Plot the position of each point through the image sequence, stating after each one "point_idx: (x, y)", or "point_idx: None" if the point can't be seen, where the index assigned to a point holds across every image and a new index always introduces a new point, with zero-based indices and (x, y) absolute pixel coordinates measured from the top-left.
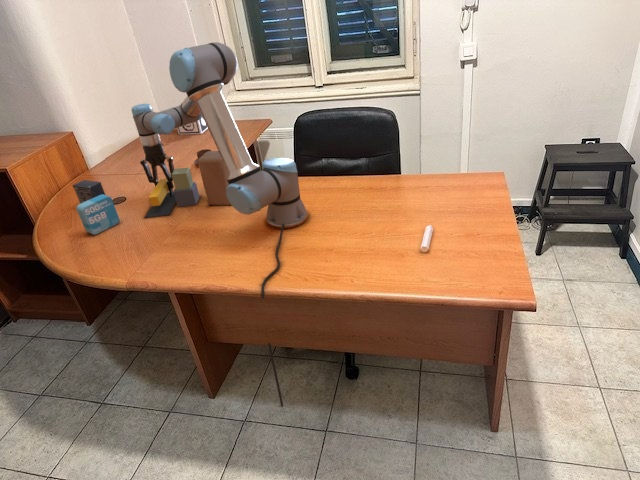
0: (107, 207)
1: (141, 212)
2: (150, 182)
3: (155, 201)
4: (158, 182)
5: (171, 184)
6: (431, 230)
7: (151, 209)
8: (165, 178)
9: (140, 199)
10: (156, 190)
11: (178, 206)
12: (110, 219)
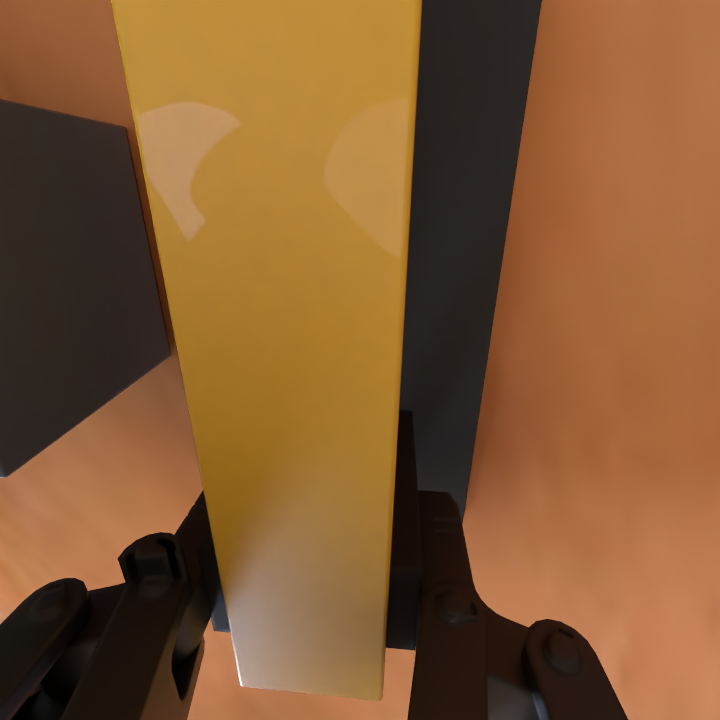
0: None
1: (646, 53)
2: (556, 627)
3: None
4: (378, 593)
5: (188, 528)
6: None
7: (489, 91)
8: (291, 690)
9: (664, 466)
10: (281, 110)
11: (115, 126)
12: None
